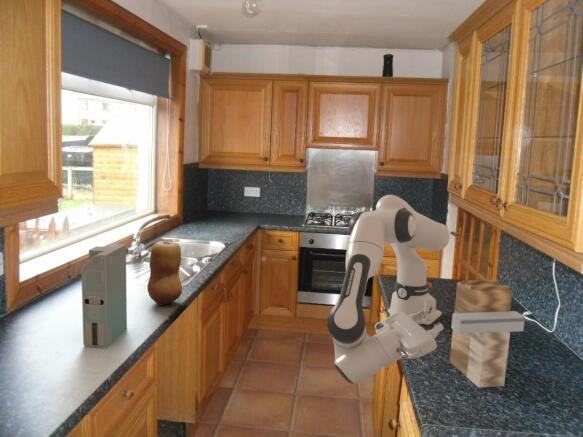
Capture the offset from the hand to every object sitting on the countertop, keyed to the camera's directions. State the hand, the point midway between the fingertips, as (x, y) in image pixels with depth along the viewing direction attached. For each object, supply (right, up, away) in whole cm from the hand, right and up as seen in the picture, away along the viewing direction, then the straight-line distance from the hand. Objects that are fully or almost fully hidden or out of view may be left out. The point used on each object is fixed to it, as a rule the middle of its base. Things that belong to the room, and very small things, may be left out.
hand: (433, 318), depth 141 cm
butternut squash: (-90, -6, +63) cm, 110 cm away
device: (-100, -12, +27) cm, 105 cm away
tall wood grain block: (+18, -19, +12) cm, 29 cm away
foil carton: (+16, -4, +4) cm, 17 cm away
